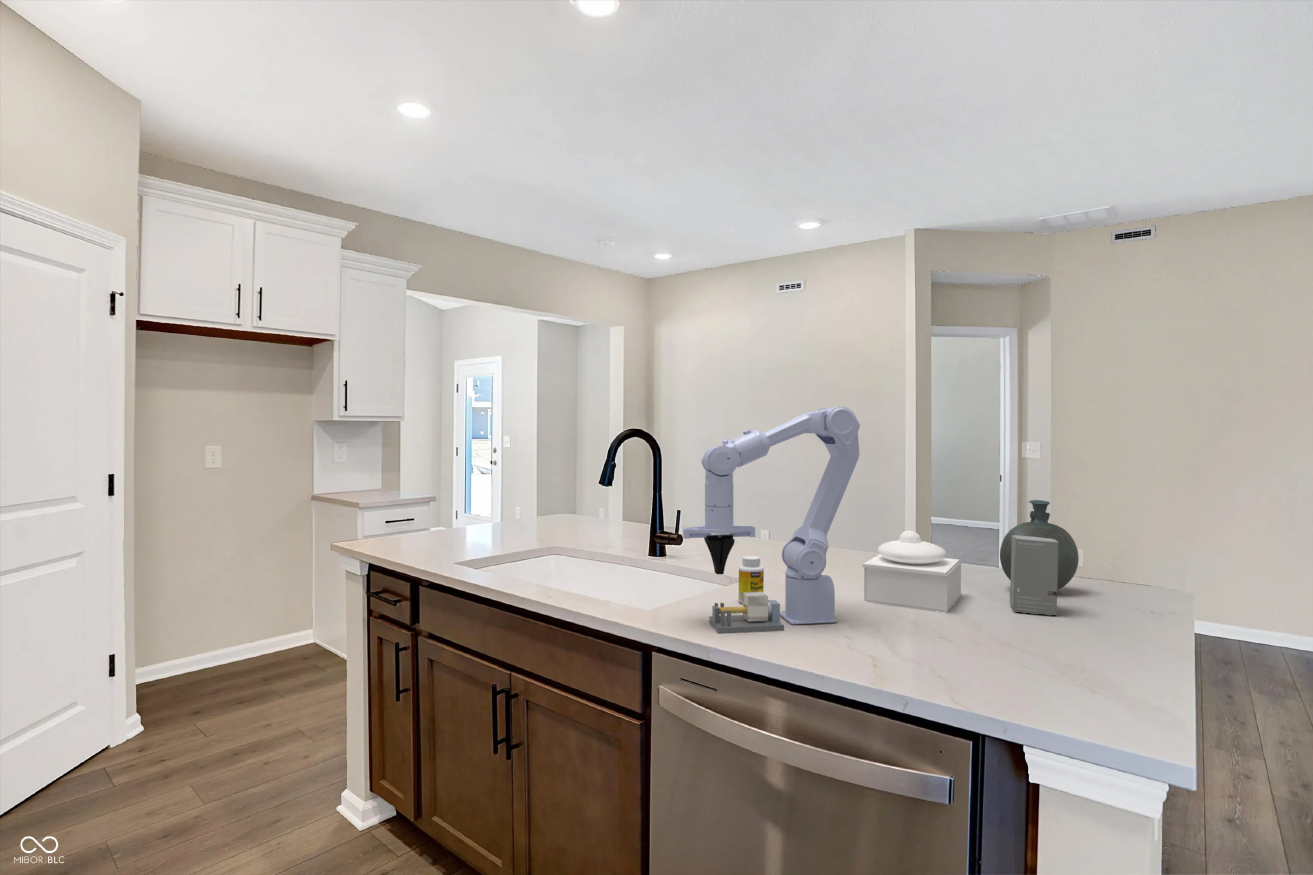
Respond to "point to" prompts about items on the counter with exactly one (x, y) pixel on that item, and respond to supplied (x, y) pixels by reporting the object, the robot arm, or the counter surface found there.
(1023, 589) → the skincare box
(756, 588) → the supplement bottle
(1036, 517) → the flask
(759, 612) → the sleeve
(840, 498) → the robot arm
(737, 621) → the linear actuator
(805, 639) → the counter surface
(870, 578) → the white lidded box
